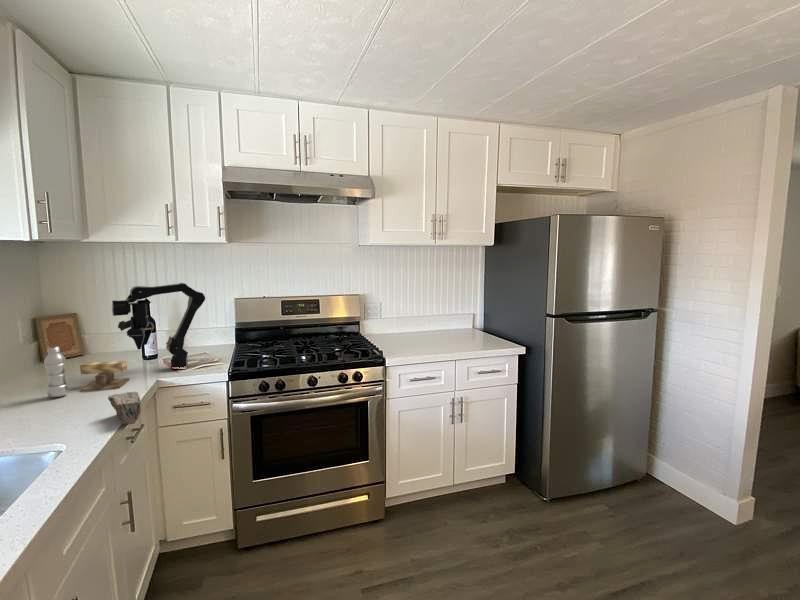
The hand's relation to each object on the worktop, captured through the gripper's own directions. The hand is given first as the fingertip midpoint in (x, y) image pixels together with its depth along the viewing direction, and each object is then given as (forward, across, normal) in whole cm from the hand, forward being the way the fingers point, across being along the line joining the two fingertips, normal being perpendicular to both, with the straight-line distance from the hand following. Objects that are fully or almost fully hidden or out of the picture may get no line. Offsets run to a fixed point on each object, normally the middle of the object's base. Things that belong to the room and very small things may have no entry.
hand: (142, 346), depth 195 cm
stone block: (+13, +56, +9) cm, 58 cm away
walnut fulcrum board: (+13, +14, -11) cm, 22 cm away
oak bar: (+7, +14, -11) cm, 19 cm away
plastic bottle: (+13, +24, -24) cm, 36 cm away
